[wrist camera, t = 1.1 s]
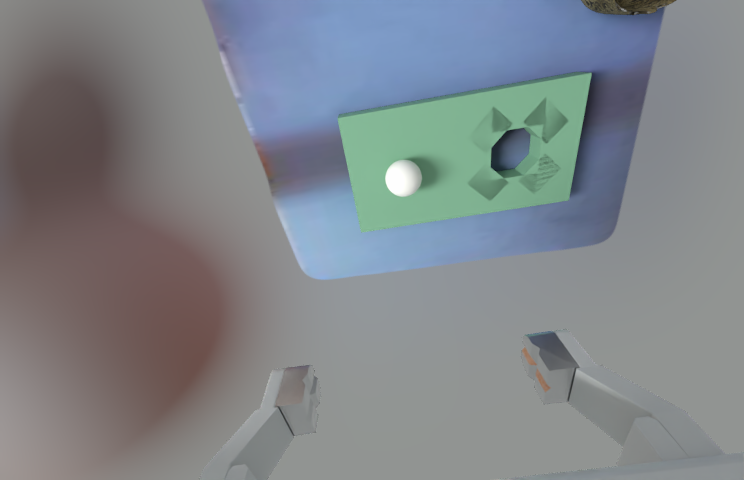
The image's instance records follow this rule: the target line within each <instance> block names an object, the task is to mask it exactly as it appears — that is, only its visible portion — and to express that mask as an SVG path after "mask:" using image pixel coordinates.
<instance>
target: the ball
mask: <svg viewBox="0 0 744 480" xmlns="http://www.w3.org/2000/svg"><path fill="white" fill-rule="evenodd" d="M385 181H386V185H387V187H388V189H389V190H390V191H391V192H392V193H393V194H395V195H397V196H401V197H406V196H410V195H412V194H414V193H415V192H416V191H417V190H418V189H419V187H420V185H421V182H422V174H421V171H420V169H419V167H418V166H417V165H416V164H415V163H414V162H412V161H409V160H398V161H396V162H394V163H393V164H392V165H391V166H390V167H389V168H388V170H387V172H386V176H385Z"/></svg>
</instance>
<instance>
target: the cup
mask: <svg viewBox="0 0 744 480" xmlns="http://www.w3.org/2000/svg"><path fill="white" fill-rule="evenodd" d="M581 1H582V2H583V3H584V5H585V6H586V7H588V8H589V9H590V10H593V11H595V12H598V13H603V14H616V15H636V14H650V13H653V12H656V11H657V9H658V8H661V7H665V6H667V5H669V4H671V3H673V2H674V1H676V0H581Z"/></svg>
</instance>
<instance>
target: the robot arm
mask: <svg viewBox="0 0 744 480" xmlns="http://www.w3.org/2000/svg"><path fill="white" fill-rule="evenodd" d="M522 342H523V344H524V346H525V347H524V348H523V349H522V352H521V358H522V363H523V366H524V368H525V371H526V373H527V375H528V376H529V377H530V378H532V379H533V380H535V385H534V388H535V390H536V391H537V393H538V395H539V397H540V399H541V401H542V402H543V404H551V403H562V402H569V404H570V405H571V406H572V407H574V408H575V409H576V410H578V411H579V412H580V413H581V414H582V415H584V416H585V417H586V418H587V419H589V420H590V421H591V422H593V423H594V424H595V425H596V426H597V427H599V428H600V429H601V430H603V431H604V432H605V433H606V434H608V435H609V436H610V437H611V438H613V439H614V440H615V441H616V442H618V443H619V444H620V445H621V446H623V448H622V451H621V454H620V456H619V458H618V461H617V465H618V466H615V467H605V468H596V469H587V470H578V471H569V472H560V473H551V474H542V475H533V476H523V477H515V478H505V479H496V480H744V452H741V453H732V454H725V453H724V452H723V451H722V449H721V448H720V447H719V446H718V445H717V444H716V443H715V442H714V441H713V440H712V439H711V438H710V437H709V436H708V435H707V434H706V433H705V431H704V430H703V429H702V428H701V427H700V426H699V425H698V424H697V423H696V422H695V421H694V420H693V419H692V418H691V417H690V416H689V414H688V413H687V412H686V411H684V410H682V409H680V408H679V407H677V406H675V405H673V404H672V403H670V402H668V401H666V400H664V399H662V398H661V397H659V396H657V395H655V394H653V393H651V392H650V391H648V390H646V389H644V388H642V387H641V386H639V385H637V384H635V383H633V382H631V381H630V380H628V379H626V378H624V377H622V376H620V375H618V374H617V373H615V372H613V371H611V370H609V369H608V368H606V367H604V366H602V365H596V364H595V363H594V361H593V360H592V359H591V358H590V357H589V355H588V354H587V353H586V351H585V350H584V349H583V348H582V346H581V345H580V344H579V343H578V341H577V340H576V339H575V338H574V336H573V335H572V334H571V333H570V331H568V330H567V329H563V330H556V331H548V332H541V333H535V334H528V335H524V336H523V341H522ZM314 372H315V370H314V368H313V366H312V365H306V366H297V367H288V368H281V369H274V370H273V371H272V373H271V375H270V378H269V382H268V385H267V388H266V391H265V394H264V398H263V401H262V404H261V408H260V409H259V410H256V411H255V412H254V413H253V414H252V415H251V416H250V417H249V418H248V420H247V421H246V422H245V423H244V424H243V425H242V426H241V427H240V428H239V430H238V431H237V432H236V433H235V434H234V435H233V436H232V437H231V438H230V439H229V441H228V442H227V443H226V444H225V445H224V446H223V447H222V448H221V449H220V450H219V452H218V453H217V454H216V455H215V456H214V457H213V458H212V459H211V461H210V462H209V463H208V464H207V465H206V466H205V467H204V469H203V471H202V474H201V476H200V478H199V480H267V479H268V478H269V476H270V474H271V473H272V471H273V469H274V468H275V466H276V465H277V463H278V462H279V460H280V459H281V457H282V455H283V454H284V452H285V451H286V449H287V448H288V446H289V444H290V443H291V441H292V440H293V438H294V436H297V435H303V434H310V433H315V432H316V427H317V420H318V414H317V411H316V407H317V406H318V405H319V403H320V384H319V380H318V378H317V377H315V376H314Z"/></svg>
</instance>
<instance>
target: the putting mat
mask: <svg viewBox="0 0 744 480" xmlns="http://www.w3.org/2000/svg"><path fill="white" fill-rule="evenodd" d="M591 75H592V73H586V72H574V73H568V74H562V75H557V76H551V77H546V78H540V79H535V80H529V81H523V82H518V83H512V84H507V85H501V86H495V87H490V88H484V89H479V90H473V91H468V92H462V93H456V94H451V95H445V96H440V97H434V98H428V99H423V100H417V101H412V102H406V103H401V104H395V105H389V106H384V107H378V108H373V109H367V110H361V111H356V112H350V113H345V114H339V116H338V123H339V127H340V132H341V137H342V142H343V147H344V152H345V156H346V161H347V166H348V171H349V176H350V181H351V185H352V190H353V195H354V200H355V205H356V210H357V214H358V219H359V224H360V229H361V232H368V231H374V230H380V229H387V228H393V227H400V226H406V225H413V224H419V223H426V222H432V221H439V220H445V219H452V218H458V217H464V216H471V215H477V214H484V213H490V212H497V211H503V210H510V209H516V208H523V207H529V206H536V205H542V204H548V203H555V202H561V201H568V200H569V196H570V191H571V185H572V180H573V174H574V169H575V163H576V158H577V152H578V146H579V141H580V135H581V130H582V124H583V119H584V113H585V108H586V102H587V97H588V91H589V86H590V80H591ZM518 128H524V129H525V130H527V131H528V132H529V133H530V134H531V138H530V148H529V154H528V155H527V156H526V157H525V158H524V159H523V160H522V161H521V162H520V164H519V165H518V166H517V167H516V168H515V169H510V170H503V171H497V172H496V171H495V170H493V169H492V168H491V148H492V147H493V145H494V144H495V143H496V142H497V141H498V140H499V139H500V138H501V136H502V135H503V134H504V133H505V132H506V131H507V130H513V129H518ZM398 160H409V161H412V162H414V163H415V164H416V165H417V166H418V167H419V169H420V171H421V174H422V182H421V185H420V187H419V189H418V190H417V191H416V192H415V193H414V194H412V195H410V196H406V197H401V196H397V195H395V194H393V193H392V192H391V191H390V190H389V189H388V187H387V185H386V181H385V176H386V172H387V170H388V168H389V167H390V166H391V165H392V164H393V163H394V162H396V161H398Z"/></svg>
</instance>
